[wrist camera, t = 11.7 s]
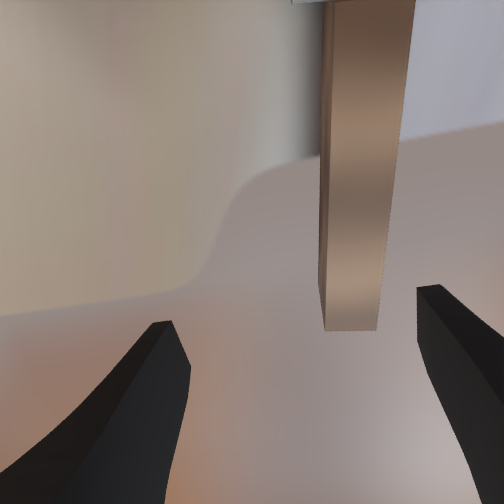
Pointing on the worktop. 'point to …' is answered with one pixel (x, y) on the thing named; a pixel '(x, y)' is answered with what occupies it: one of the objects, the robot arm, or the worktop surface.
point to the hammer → (359, 151)
